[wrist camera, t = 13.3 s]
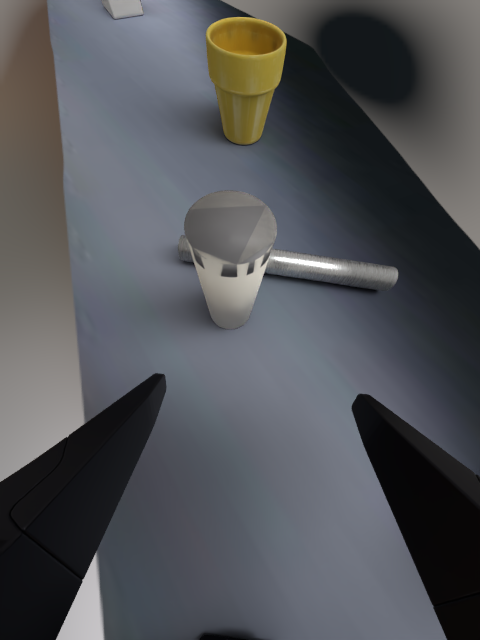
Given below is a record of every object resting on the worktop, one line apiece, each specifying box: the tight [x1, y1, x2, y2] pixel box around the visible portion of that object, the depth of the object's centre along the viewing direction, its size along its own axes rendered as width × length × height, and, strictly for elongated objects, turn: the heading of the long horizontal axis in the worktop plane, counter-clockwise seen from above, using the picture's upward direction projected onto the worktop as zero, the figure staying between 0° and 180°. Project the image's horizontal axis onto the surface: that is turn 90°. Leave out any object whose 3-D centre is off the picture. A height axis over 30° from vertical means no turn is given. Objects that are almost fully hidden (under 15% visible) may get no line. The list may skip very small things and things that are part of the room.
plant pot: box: [206, 17, 286, 145], centre depth 28 cm, size 10×10×10 cm
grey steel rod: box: [178, 235, 398, 291], centre depth 23 cm, size 4×26×4 cm, turn 82°
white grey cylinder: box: [184, 191, 277, 329], centre depth 16 cm, size 5×5×13 cm
